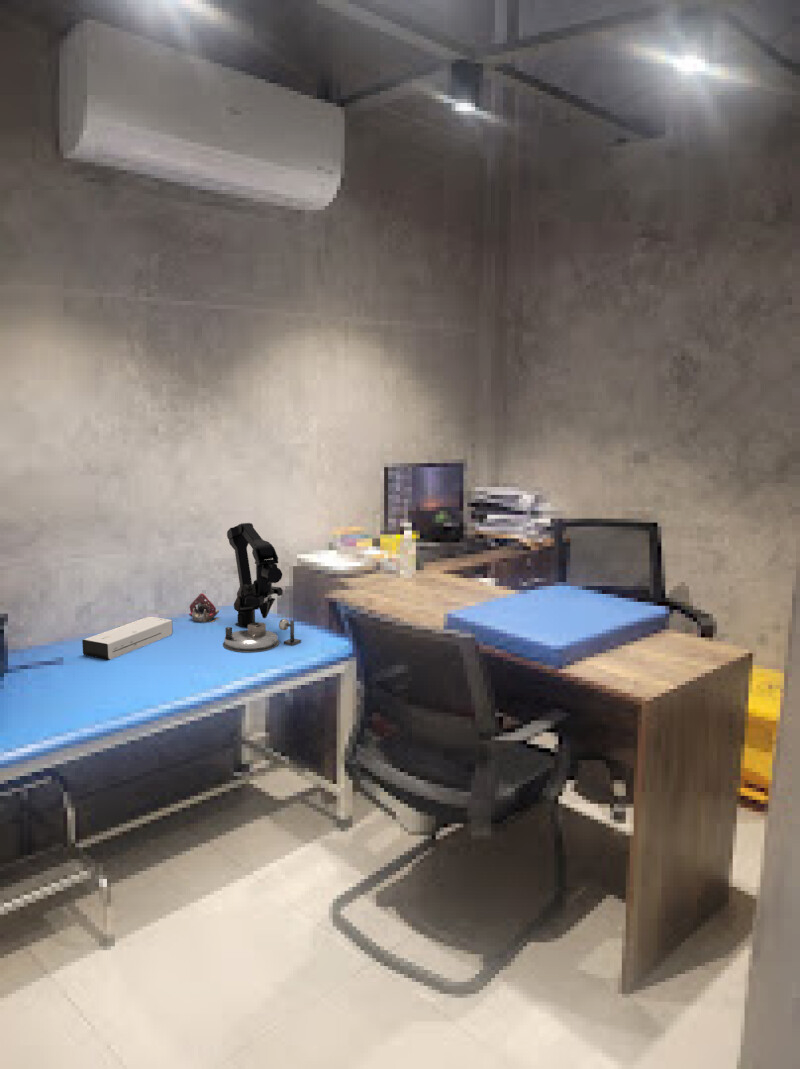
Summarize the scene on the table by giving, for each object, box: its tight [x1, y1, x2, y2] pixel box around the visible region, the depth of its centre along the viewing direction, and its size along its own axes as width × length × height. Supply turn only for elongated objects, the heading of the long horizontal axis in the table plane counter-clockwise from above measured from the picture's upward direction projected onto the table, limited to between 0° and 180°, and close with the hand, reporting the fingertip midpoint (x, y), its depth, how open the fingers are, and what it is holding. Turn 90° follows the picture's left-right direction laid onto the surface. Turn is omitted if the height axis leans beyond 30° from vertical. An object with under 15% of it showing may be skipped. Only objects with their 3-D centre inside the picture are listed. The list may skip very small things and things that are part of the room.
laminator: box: [81, 616, 174, 661], centre depth 297 cm, size 34×12×6 cm, turn 156°
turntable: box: [224, 626, 278, 651], centre depth 300 cm, size 19×19×6 cm
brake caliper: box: [188, 593, 220, 623], centre depth 331 cm, size 11×11×12 cm
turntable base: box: [222, 638, 280, 654], centre depth 300 cm, size 20×20×1 cm
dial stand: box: [278, 618, 302, 647], centre depth 301 cm, size 6×5×9 cm
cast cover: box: [247, 621, 267, 637], centre depth 303 cm, size 7×7×4 cm
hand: (264, 617), depth 308 cm, fingers closed
